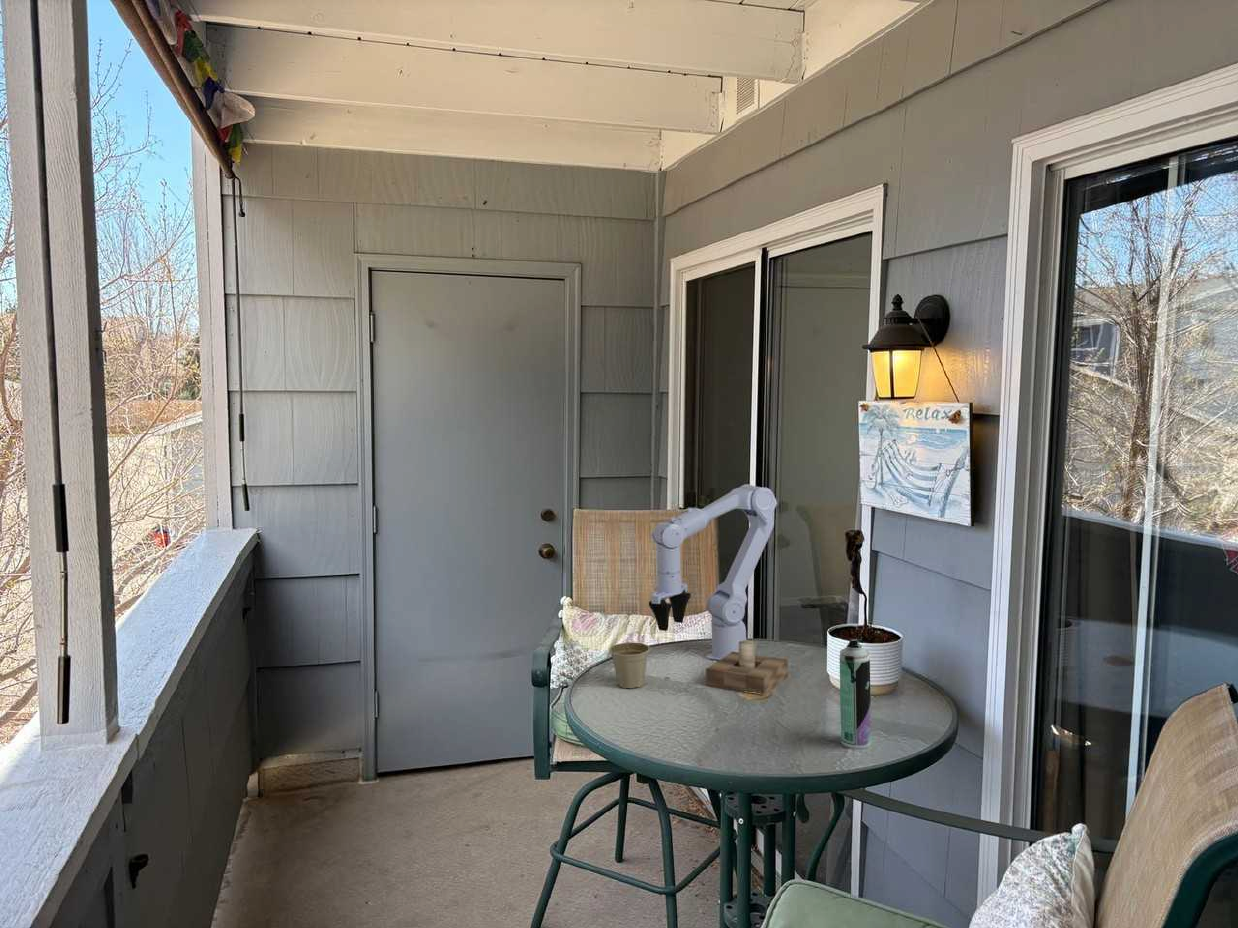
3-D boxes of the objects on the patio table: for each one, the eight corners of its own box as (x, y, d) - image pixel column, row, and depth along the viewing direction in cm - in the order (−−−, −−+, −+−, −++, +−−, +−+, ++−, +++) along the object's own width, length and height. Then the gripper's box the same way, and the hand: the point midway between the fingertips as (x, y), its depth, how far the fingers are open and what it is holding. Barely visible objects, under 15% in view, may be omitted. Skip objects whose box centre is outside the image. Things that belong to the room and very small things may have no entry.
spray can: (872, 749, 156) (870, 644, 154) (841, 748, 157) (840, 643, 155) (869, 737, 161) (868, 635, 159) (840, 736, 162) (838, 634, 161)
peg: (741, 673, 197) (740, 640, 196) (756, 674, 196) (755, 640, 195) (738, 678, 194) (737, 644, 193) (753, 679, 192) (752, 645, 192)
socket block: (733, 667, 204) (732, 651, 204) (787, 676, 197) (787, 659, 196) (706, 685, 193) (706, 668, 192) (764, 695, 185) (763, 677, 185)
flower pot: (651, 691, 191) (650, 653, 190) (610, 692, 191) (608, 655, 190) (651, 677, 200) (649, 641, 199) (611, 678, 200) (609, 642, 200)
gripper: (669, 564, 214) (671, 616, 215) (639, 576, 202) (641, 631, 203) (694, 566, 210) (695, 620, 211) (665, 578, 198) (667, 635, 199)
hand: (671, 626), depth 207 cm, fingers open, 7 cm apart
